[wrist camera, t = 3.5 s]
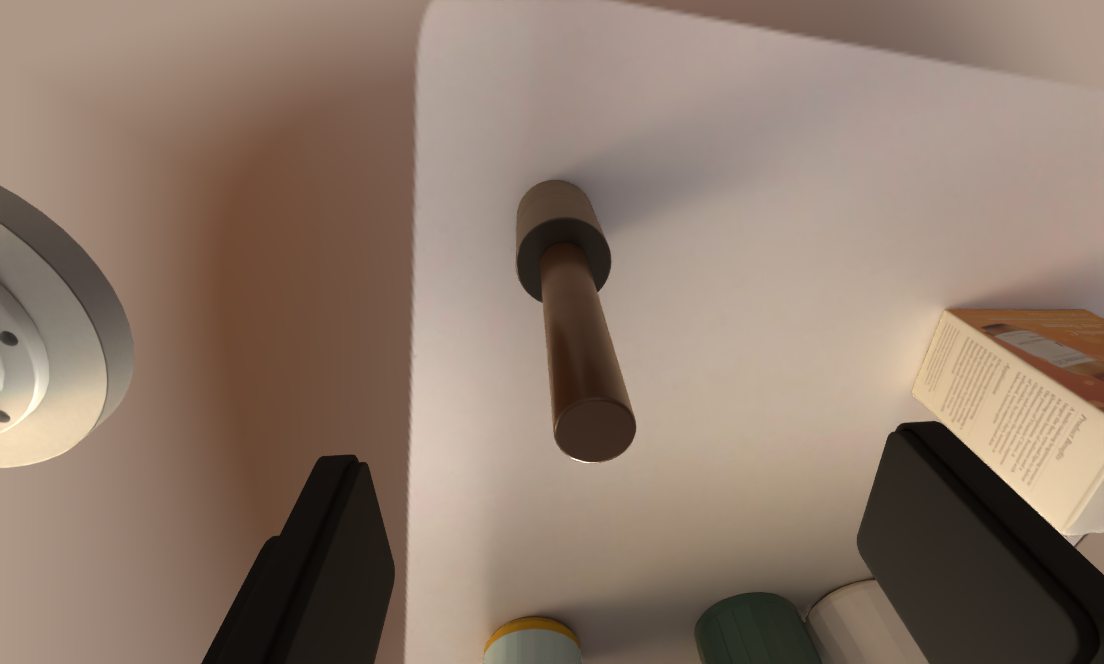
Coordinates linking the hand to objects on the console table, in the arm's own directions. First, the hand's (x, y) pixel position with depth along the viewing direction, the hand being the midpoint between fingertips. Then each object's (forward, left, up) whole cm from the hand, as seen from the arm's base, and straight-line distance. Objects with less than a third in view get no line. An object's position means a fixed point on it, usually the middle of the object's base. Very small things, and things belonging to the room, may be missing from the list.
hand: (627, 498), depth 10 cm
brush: (0, 0, -18) cm, 18 cm away
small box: (+24, -9, -18) cm, 31 cm away
